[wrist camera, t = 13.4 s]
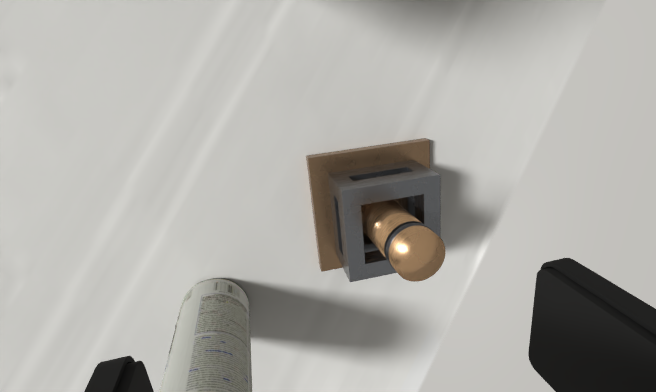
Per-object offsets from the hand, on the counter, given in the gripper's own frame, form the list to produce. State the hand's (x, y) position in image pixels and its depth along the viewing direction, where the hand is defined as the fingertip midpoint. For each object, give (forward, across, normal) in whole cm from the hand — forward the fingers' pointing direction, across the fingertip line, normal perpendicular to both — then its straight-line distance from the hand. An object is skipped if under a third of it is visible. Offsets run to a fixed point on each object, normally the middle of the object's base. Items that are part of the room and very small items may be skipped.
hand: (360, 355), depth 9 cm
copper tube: (+27, -9, +8) cm, 29 cm away
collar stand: (+28, -9, +8) cm, 30 cm away
